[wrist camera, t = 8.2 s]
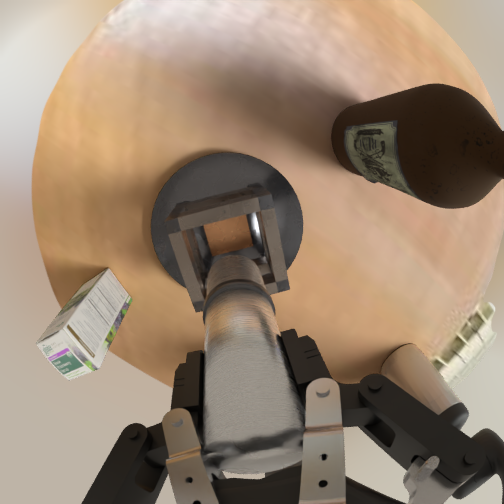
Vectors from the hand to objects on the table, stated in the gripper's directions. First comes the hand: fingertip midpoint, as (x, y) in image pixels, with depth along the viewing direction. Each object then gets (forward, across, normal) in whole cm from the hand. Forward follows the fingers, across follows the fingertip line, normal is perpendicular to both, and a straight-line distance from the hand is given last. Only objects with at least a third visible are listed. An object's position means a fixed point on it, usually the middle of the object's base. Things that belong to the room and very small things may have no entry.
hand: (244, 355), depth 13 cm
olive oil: (+22, -19, -7) cm, 30 cm away
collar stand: (+22, 0, 0) cm, 22 cm away
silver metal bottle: (+8, 0, 0) cm, 8 cm away
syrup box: (+22, +19, +4) cm, 29 cm away
